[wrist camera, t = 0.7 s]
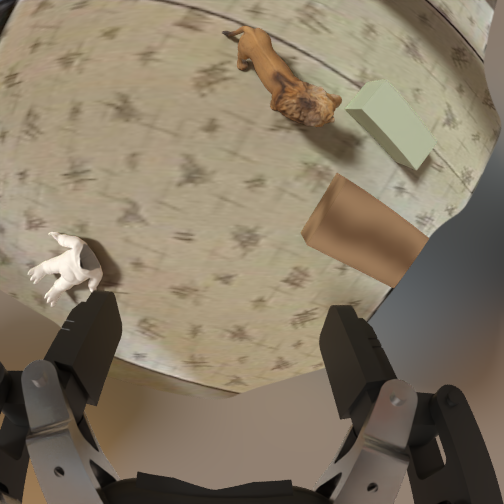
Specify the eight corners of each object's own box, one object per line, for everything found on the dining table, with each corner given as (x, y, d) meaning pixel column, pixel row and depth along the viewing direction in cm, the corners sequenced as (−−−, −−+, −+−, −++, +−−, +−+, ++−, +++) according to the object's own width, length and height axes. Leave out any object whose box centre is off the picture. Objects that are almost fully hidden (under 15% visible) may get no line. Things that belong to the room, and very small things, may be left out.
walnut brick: (335, 172, 32) (347, 179, 28) (414, 227, 36) (429, 238, 33) (299, 231, 35) (307, 245, 32) (382, 274, 40) (393, 288, 36)
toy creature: (16, 260, 29) (45, 237, 25) (39, 240, 34) (74, 214, 30) (60, 320, 35) (99, 313, 31) (78, 297, 40) (120, 284, 36)
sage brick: (366, 82, 26) (386, 78, 22) (415, 136, 30) (437, 141, 25) (343, 109, 28) (361, 109, 24) (395, 162, 31) (416, 170, 27)
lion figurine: (326, 107, 28) (359, 106, 20) (293, 135, 29) (315, 142, 21) (239, 20, 22) (241, -11, 14) (204, 48, 24) (193, 24, 16)
